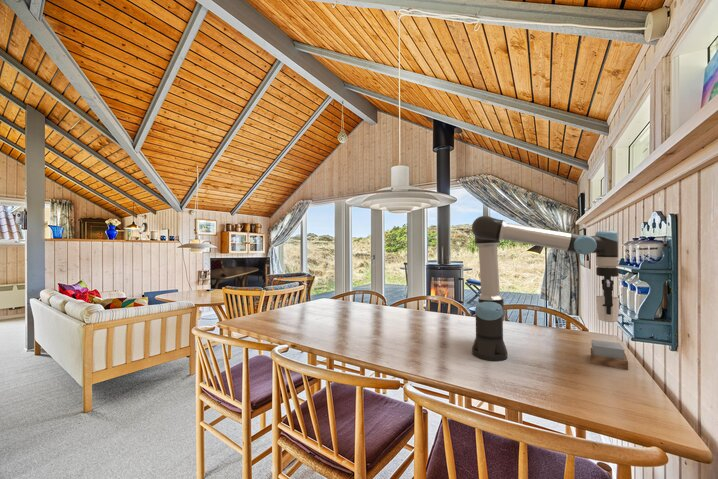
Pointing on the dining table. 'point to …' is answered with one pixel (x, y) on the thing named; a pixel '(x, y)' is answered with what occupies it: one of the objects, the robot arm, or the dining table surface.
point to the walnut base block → (609, 361)
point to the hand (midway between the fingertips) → (608, 319)
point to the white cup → (601, 308)
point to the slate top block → (607, 349)
